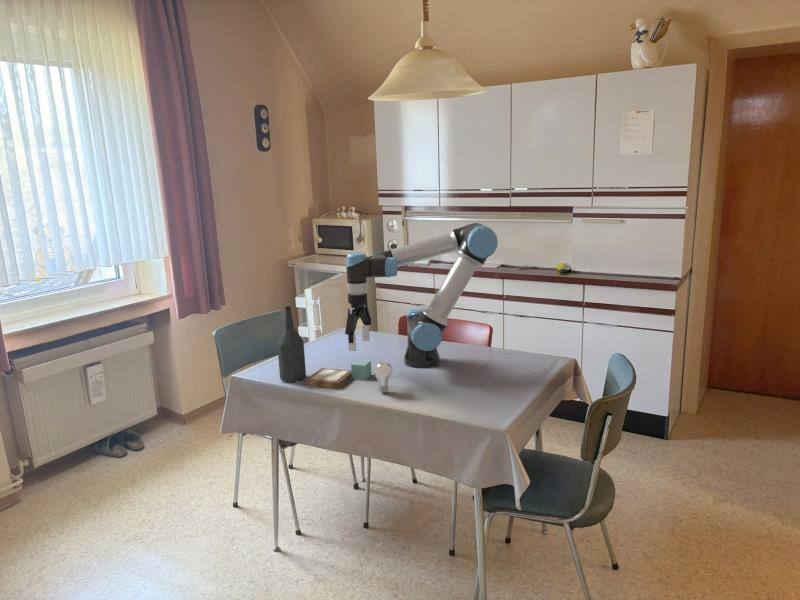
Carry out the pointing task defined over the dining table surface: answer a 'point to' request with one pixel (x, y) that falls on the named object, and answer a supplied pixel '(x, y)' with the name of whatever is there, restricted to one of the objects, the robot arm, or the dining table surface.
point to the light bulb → (383, 375)
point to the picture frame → (329, 378)
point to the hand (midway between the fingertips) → (359, 345)
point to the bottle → (291, 352)
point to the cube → (361, 369)
